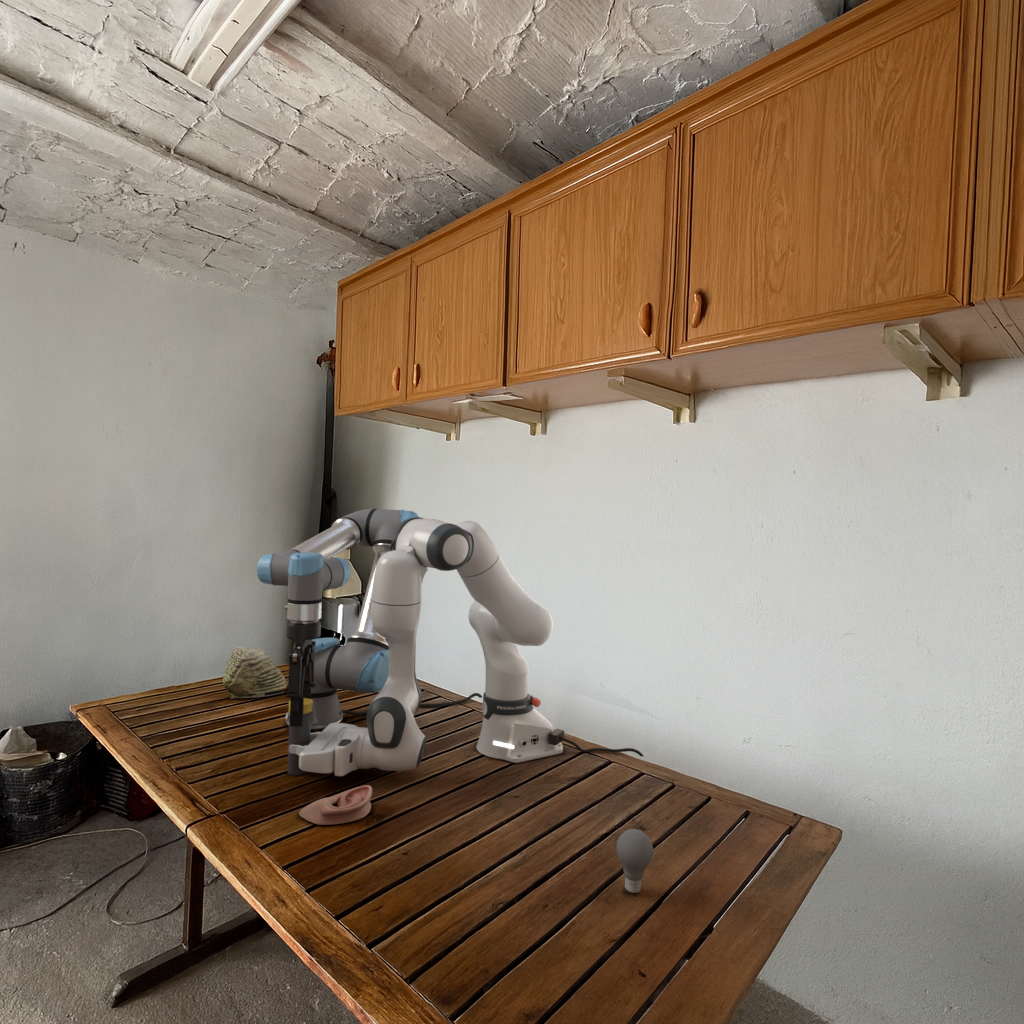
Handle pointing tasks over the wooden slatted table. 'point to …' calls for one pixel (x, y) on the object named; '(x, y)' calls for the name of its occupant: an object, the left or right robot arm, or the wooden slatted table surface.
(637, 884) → the light bulb
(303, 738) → the dark grey bottle
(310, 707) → the lid
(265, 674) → the fossil
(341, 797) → the anatomical model
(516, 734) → the right robot arm
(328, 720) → the left robot arm
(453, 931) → the wooden slatted table surface
